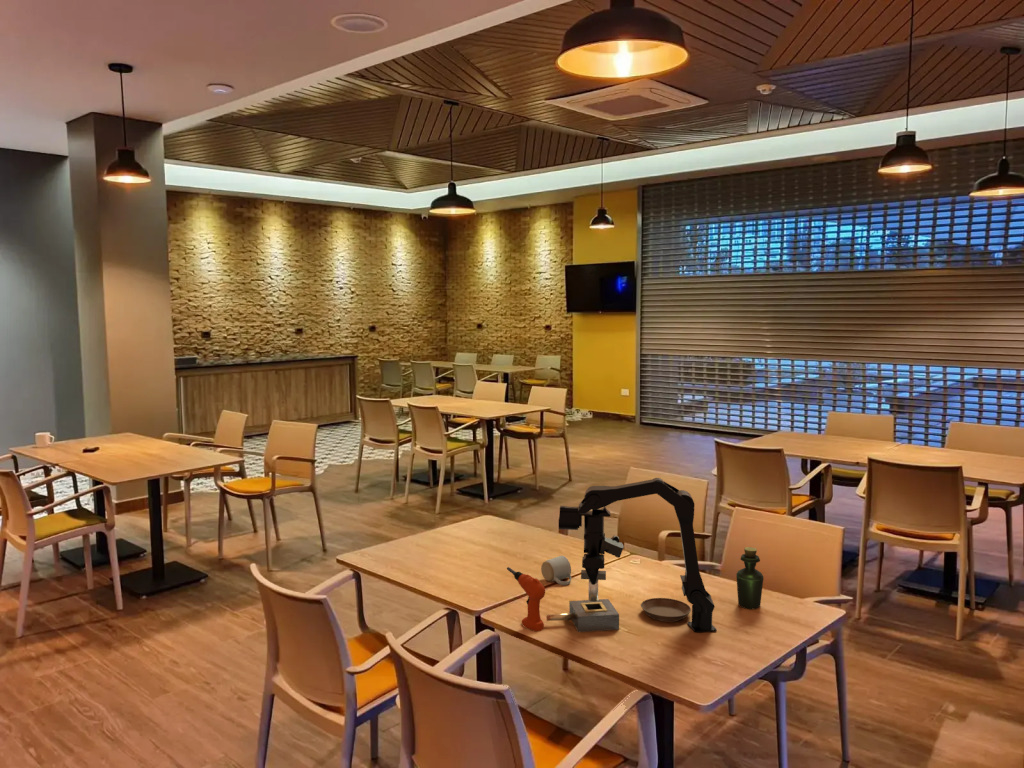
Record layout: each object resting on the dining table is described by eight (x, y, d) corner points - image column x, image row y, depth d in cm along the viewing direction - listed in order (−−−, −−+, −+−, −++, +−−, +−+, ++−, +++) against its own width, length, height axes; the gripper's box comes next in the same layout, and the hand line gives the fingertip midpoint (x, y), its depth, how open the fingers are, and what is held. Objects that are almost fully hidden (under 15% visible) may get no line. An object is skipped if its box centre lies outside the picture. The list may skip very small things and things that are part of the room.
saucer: (691, 608, 227) (691, 599, 227) (690, 627, 213) (690, 618, 213) (643, 603, 231) (643, 595, 231) (638, 622, 217) (638, 613, 217)
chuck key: (605, 602, 214) (605, 574, 213) (580, 601, 215) (580, 573, 214) (605, 598, 217) (605, 570, 216) (581, 597, 218) (581, 569, 217)
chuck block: (619, 629, 211) (619, 613, 211) (550, 633, 209) (550, 617, 208) (608, 613, 223) (608, 598, 223) (543, 617, 220) (543, 601, 220)
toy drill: (511, 603, 228) (515, 557, 225) (547, 631, 212) (551, 583, 210) (498, 606, 225) (501, 560, 222) (533, 635, 210) (537, 586, 207)
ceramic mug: (539, 578, 254) (539, 557, 253) (558, 574, 258) (558, 552, 258) (558, 588, 245) (558, 565, 244) (577, 583, 250) (577, 561, 249)
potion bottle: (753, 612, 223) (754, 554, 222) (730, 604, 229) (731, 548, 228) (768, 606, 228) (769, 549, 227) (745, 598, 235) (746, 543, 233)
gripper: (622, 540, 204) (622, 595, 205) (621, 522, 222) (620, 573, 224) (582, 539, 205) (581, 593, 207) (584, 521, 224) (584, 571, 225)
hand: (593, 582), depth 215 cm, fingers closed on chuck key, 3 cm apart
